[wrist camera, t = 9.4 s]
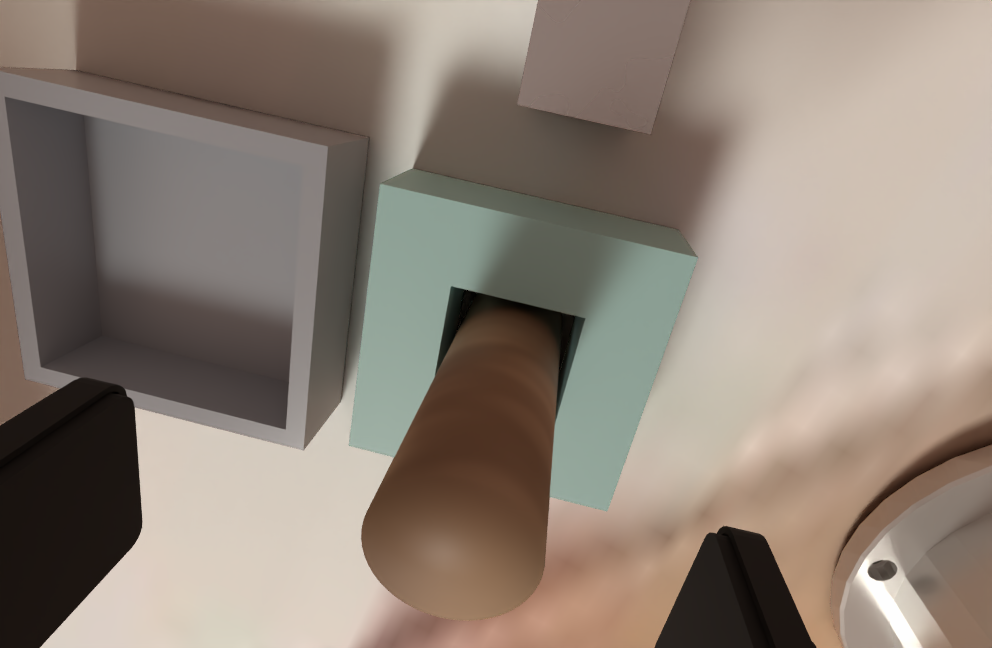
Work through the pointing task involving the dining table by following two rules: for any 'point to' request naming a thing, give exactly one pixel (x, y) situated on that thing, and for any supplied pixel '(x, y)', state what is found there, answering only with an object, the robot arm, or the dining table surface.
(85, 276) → the tray
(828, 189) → the dining table surface
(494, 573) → the dowel
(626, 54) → the grayish brown rectangular block
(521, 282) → the socket block
